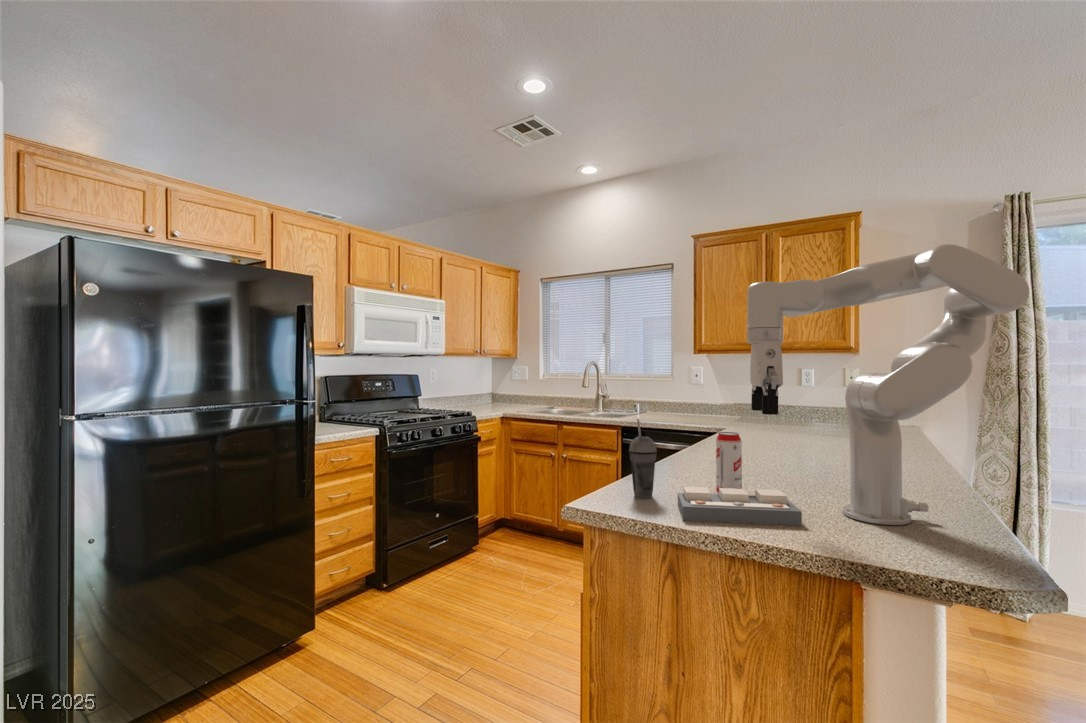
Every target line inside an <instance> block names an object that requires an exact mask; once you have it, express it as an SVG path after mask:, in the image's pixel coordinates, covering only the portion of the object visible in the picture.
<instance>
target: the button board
mask: <svg viewBox="0 0 1086 723" xmlns="http://www.w3.org/2000/svg"><path fill="white" fill-rule="evenodd" d="M748 495H749V503H741V502H722V501H721V500H720V498H719V493H711V502H709V501H685V499H684V492H677V506H678V510H679V513H680V517H681V520H682V521H684V522H685V521H689V522H707V521H716V523H728V522H742V523H741V524H750V523H761V524H760V525H771V524H778V525H777V526H793V527H794V526H796V527H797V526H798V527H802V526H803V524H802V522H803V520H802V519H803V516H802V515H803V514H802V511H801V509H800V508H798V507H797V506H796V505H795V504H793V502H791V501H790V500H789V499H788V498H787V505H784V504H760V503H759V502H758V501H757V500H756V499H755V495H750V494H748ZM744 522H745V523H744ZM779 524H780V525H779Z"/></svg>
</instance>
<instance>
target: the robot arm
mask: <svg viewBox="0 0 1086 723" xmlns="http://www.w3.org/2000/svg"><path fill="white" fill-rule="evenodd" d="M945 287H948V288H949V289H948V290H947V292H946V293H945V297H944V299H943V310H944V311H943V314H944V315H943V320H942V322H941V323H940V324H939V325H938V326H937V327H935V329H933V330H932V331H931V332H929V333H928V334H926V335H924V336H923V337H922V338H920V339H918V340H917V341H916V342H914V343H912V344H911V345H909V346H908V347H906V348H904V349H902V351H900V352H899V353H897V355H896V356H895V357H894V358H893V359H892V361H891V365H890V372H891V373H887V372H886V373H883V372H882V373H881V372H869V373H863V374H860V375H857V376H856V377H854V379H852V380H850V382H849V383H848V385H847V387H846V389H845V390H846V391H845V394H844V396H845V397H844V398H845V400H844V401H845V406H846V412H847V417H848V426H849V478H850V479H849V480H850V482H849V484H850V485H849V488H850V496H849V497H850V504H846V505H843V507H842V514H843V515H844V516H847V517H849V518H850V519H854V520H855V521H856V520H857V521H860V522H864V523H869V524H876V525H885V526H904V525H908V524H910V523H912V515H911V513H912V512H918V513H923V512H924V513H927V512H929V508H930V507H929V505H928V503H927V502H917V501H916V502H915V501H914V500H908V499H906V498H904V497H903V462H902V461H903V459H902V458H903V456H902V454H903V452H902V450H903V449H902V448H903V447H902V446H903V445H902V444H903V442H902V439H903V438H902V431H901V430H902V429H901V427H900V422H899V421H905V420H909V419H912V418H914V417H916V416H918V415H919V414H921V413H923V412H925V411H926V410H928V409H930V408H931V407H932V406H934V405H936V404H937V403H940V402H941V401H942V400H944V399H946V398H947V397H948V396H950V395H951V394H953V393H954V392H956V391H957V390H958V389H960V388H961V387H962V386H964V384H966V383H967V381H968V379H969V378H970V376H971V374H972V371H973V361H972V357H973V355H974V354H976V353H977V352H978V351H979V350H980V349H981V348H982V346H983V345H984V343H985V341H986V334H987V317H990V316H991V317H992V316H997V315H1005V314H1009V313H1013V312H1015V311H1016V310H1018V309H1020V308H1021V307H1023V306H1024V304H1026V303H1027V301H1028V299H1029V296H1030V286H1029V284H1028V282H1027V280H1026V279H1025V278H1024V277H1023V276H1022V275H1021V274H1019V273H1018V272H1017V271H1014V270H1013V269H1011V268H1008V267H1006V266H1005V265H1003V264H1001V263H999V262H997V261H994V260H992V259H991V258H989V257H986V256H984V255H982V254H980V253H978V252H977V251H973V250H972V249H969V248H966V247H964V246H960V245H957V244H950V243H948V244H941V245H938V246H935V247H932V248H930V249H926V250H923V251H921V252H917V253H914V254H908V255H904V256H899V257H896V258H892V259H887V260H883V261H882V260H881V261H877V262H872V263H867V264H864V265H863V264H861V265H859V266H857V267H853V268H851V269H847V270H845V271H843V272H840V273H837V274H835V275H832V276H829V277H825V278H822V279H818V280H813V279H798V280H792V281H783V282H780V281H779V282H778V281H759V282H754V283H752V284H750V285H749V286H748V288H747V293H746V294H747V301H746V302H747V306H746V308H747V310H746V311H747V313H746V314H747V315H746V316H747V317H746V325H747V326H746V332H747V333H746V336H747V337H746V344H748V345H749V344H750V346H751V347H750V348H751V349H750V367H749V368H750V370H749V372H750V373H749V375H750V384H751V385H752V388H751V408H750V409H751V410H752V411H754V412H755V411H759V412H760V411H761V414H762V415H775V416H777V415H778V414H779V388H781V387H782V386H784V384H783V383H784V374H783V373H784V372H783V370H784V369H783V355H782V354H783V353H782V346H781V344H784V317H786V318H797V317H801V316H806V315H811V314H815V313H820V312H824V311H830V310H834V309H839V308H840V309H841V308H847V307H856V306H861V305H867V304H872V303H876V302H880V301H885V300H889V299H894V298H900V297H905V296H910V295H915V294H919V293H923V292H929V291H933V290H936V289H941V288H945ZM971 356H972V357H971ZM909 513H910V514H909Z"/></svg>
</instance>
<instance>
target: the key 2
mask: <svg viewBox="0 0 1086 723" xmlns="http://www.w3.org/2000/svg"><path fill="white" fill-rule="evenodd" d="M754 496H755V499H756V500H757V501H758V502H759V503H760V504H784V505H787V499H788V496H787V495H786V493H784V492H783V491H782V490H780V489H760V488H759V489H758V488H757V489H756V488H755V489H754Z"/></svg>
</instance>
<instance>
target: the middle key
mask: <svg viewBox="0 0 1086 723" xmlns="http://www.w3.org/2000/svg"><path fill="white" fill-rule="evenodd" d="M718 494H719V498H720V500H721V501H722V502H741V503H749V495H750V494H749V493H748V492H747V491H746V490H745V489H744V488H742V489H734V488H719V493H718Z"/></svg>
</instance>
